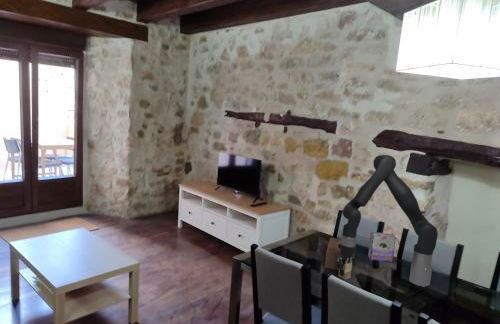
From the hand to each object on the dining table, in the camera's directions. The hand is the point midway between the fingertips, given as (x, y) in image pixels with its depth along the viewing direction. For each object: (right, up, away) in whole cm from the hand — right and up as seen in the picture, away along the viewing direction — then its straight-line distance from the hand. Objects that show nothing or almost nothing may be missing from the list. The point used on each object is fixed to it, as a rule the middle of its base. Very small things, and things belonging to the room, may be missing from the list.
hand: (344, 274), depth 189 cm
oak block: (0, -1, 0) cm, 1 cm away
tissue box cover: (+2, 0, +21) cm, 21 cm away
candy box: (+30, -1, +30) cm, 43 cm away
